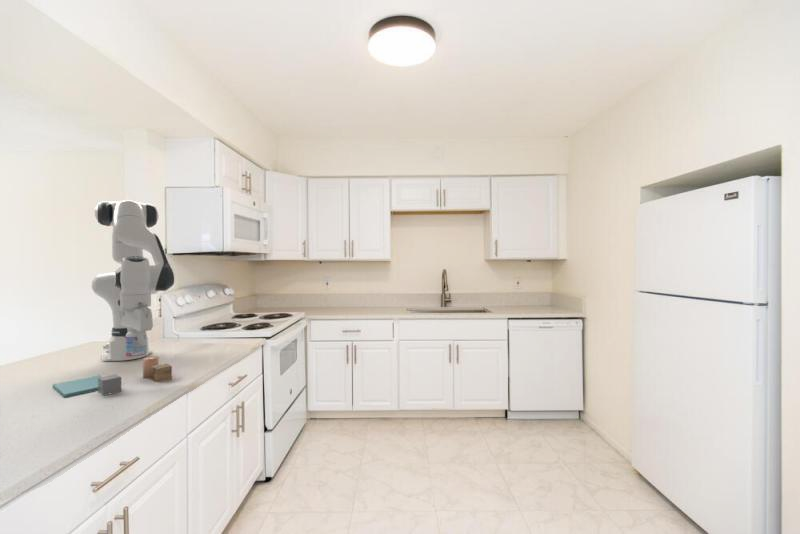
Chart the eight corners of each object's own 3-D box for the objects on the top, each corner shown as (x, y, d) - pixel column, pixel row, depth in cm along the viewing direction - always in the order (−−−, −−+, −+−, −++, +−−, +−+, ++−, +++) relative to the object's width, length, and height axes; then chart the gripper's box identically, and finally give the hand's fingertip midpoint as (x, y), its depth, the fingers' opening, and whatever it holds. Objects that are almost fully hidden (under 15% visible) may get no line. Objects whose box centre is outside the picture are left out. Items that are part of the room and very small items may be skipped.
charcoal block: (98, 392, 123) (98, 377, 123) (116, 388, 127) (116, 374, 127) (102, 395, 120) (102, 380, 120) (121, 391, 124) (121, 376, 124)
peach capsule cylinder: (140, 376, 140) (140, 358, 140) (155, 373, 144) (155, 355, 144) (146, 379, 137) (145, 360, 137) (161, 375, 141) (160, 357, 141)
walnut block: (151, 379, 136) (151, 366, 136) (166, 376, 140) (166, 363, 140) (156, 382, 133) (156, 368, 133) (171, 378, 138) (171, 365, 137)
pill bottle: (124, 356, 130) (123, 325, 130) (144, 353, 135) (144, 323, 135) (127, 359, 126) (127, 327, 126) (148, 356, 131) (148, 325, 131)
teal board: (52, 387, 128) (52, 384, 128) (99, 377, 138) (99, 375, 138) (64, 397, 118) (64, 394, 118) (113, 386, 128) (113, 383, 128)
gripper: (158, 303, 127) (158, 343, 127) (135, 299, 139) (136, 335, 139) (136, 305, 122) (136, 346, 122) (115, 300, 134) (115, 338, 134)
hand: (136, 340), depth 131 cm, fingers closed on pill bottle, 6 cm apart
